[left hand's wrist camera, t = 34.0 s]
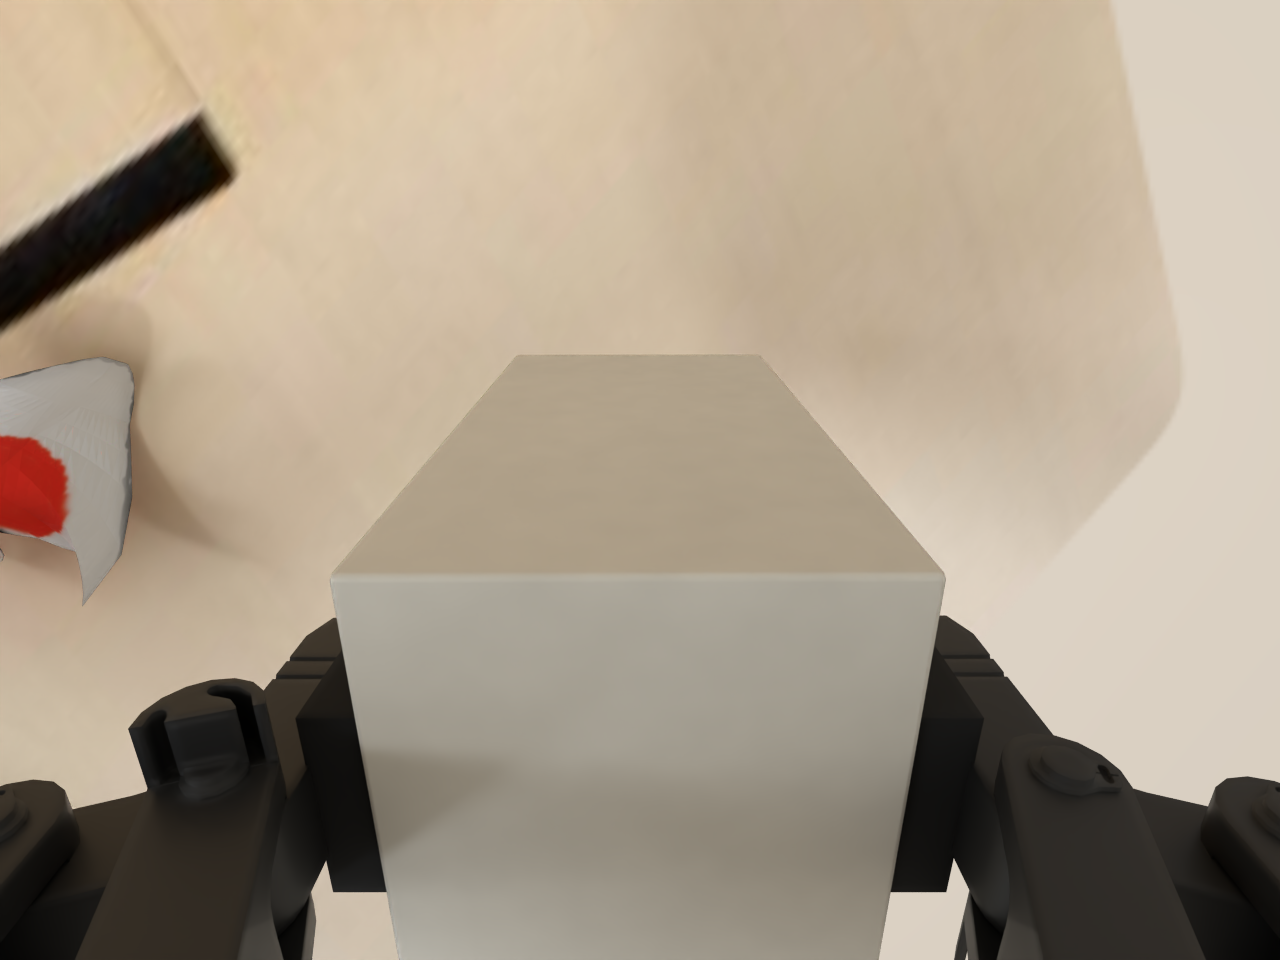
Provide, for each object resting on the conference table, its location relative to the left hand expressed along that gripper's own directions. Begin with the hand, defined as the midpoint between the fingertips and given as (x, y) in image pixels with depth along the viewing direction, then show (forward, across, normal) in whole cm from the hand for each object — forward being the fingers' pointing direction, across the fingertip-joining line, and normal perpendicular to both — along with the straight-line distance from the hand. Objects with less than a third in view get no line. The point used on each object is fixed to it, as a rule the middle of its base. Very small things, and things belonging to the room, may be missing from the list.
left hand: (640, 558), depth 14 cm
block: (+5, 0, 0) cm, 5 cm away
